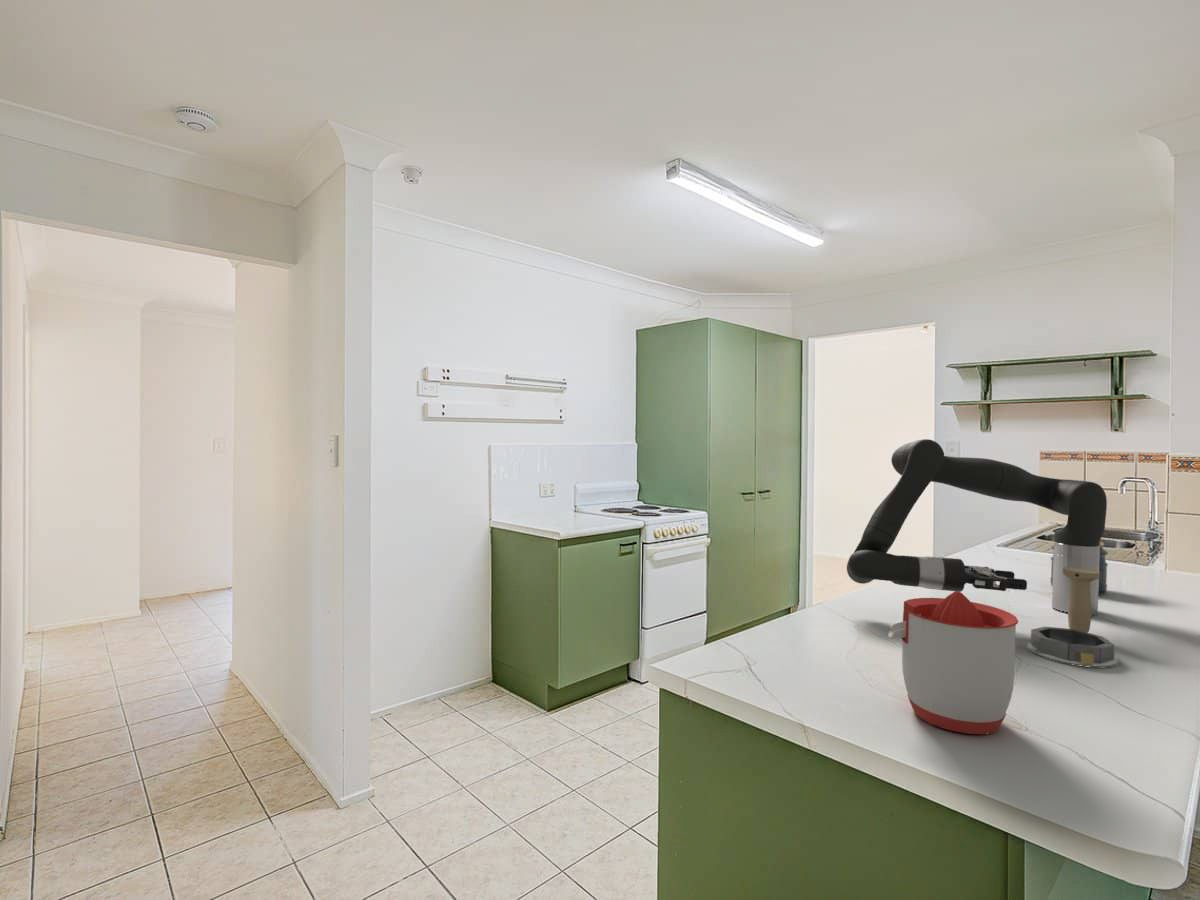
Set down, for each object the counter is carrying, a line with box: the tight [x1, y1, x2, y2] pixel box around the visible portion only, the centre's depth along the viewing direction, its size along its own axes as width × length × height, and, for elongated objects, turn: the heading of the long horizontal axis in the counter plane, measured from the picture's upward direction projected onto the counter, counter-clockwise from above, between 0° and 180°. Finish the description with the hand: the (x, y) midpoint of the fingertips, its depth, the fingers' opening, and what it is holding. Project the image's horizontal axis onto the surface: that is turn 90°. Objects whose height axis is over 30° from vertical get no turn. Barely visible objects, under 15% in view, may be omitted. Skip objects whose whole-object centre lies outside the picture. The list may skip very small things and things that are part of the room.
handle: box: [1062, 567, 1100, 633], centre depth 134 cm, size 5×6×15 cm
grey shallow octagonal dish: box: [1027, 626, 1118, 668], centre depth 124 cm, size 15×14×4 cm
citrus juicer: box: [888, 591, 1019, 735], centre depth 95 cm, size 16×17×20 cm
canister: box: [1049, 540, 1109, 595], centre depth 176 cm, size 13×13×18 cm
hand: (1019, 580), depth 137 cm, fingers open, 8 cm apart
